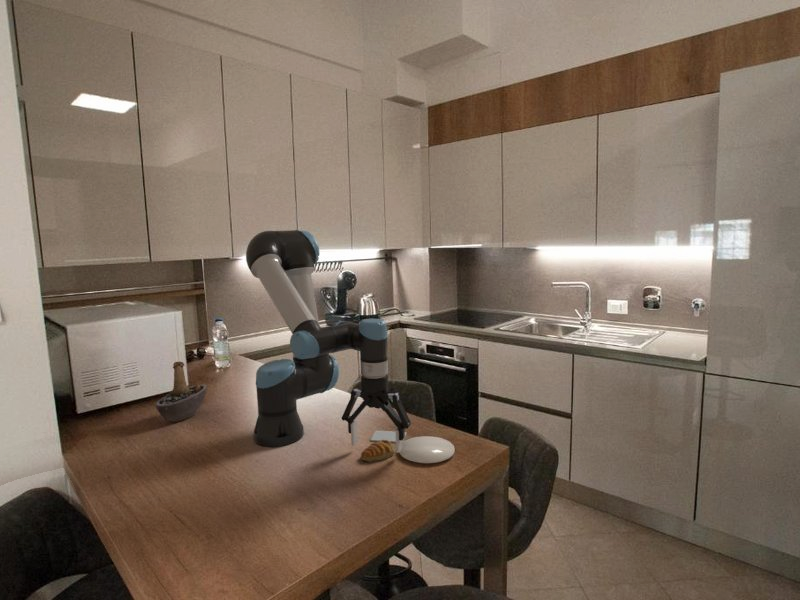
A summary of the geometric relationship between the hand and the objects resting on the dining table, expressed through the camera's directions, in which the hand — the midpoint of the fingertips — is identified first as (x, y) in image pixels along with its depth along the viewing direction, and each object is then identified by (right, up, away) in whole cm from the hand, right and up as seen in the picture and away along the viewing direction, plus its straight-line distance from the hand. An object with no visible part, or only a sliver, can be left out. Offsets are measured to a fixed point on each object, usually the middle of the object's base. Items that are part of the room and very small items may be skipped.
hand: (376, 447), depth 135 cm
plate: (+14, -2, +1) cm, 14 cm away
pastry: (+1, -3, 0) cm, 3 cm away
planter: (-69, +1, +31) cm, 75 cm away
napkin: (+3, -1, +12) cm, 12 cm away
